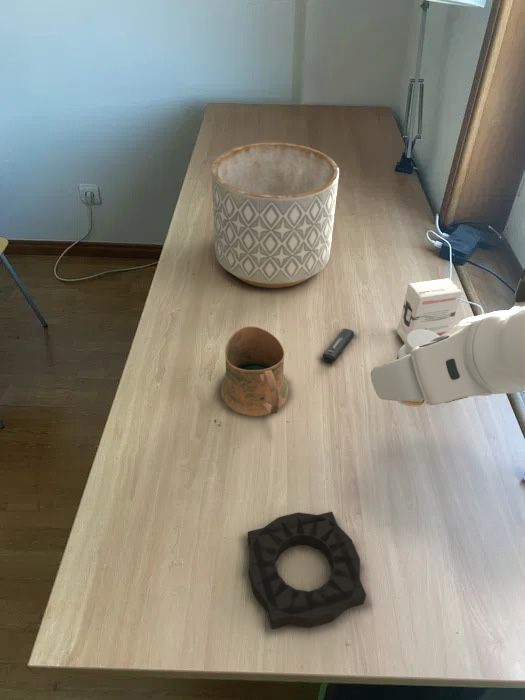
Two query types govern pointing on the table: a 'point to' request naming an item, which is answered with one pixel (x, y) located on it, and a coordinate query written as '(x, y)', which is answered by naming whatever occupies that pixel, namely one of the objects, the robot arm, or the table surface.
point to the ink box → (429, 307)
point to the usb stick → (338, 345)
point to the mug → (254, 373)
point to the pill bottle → (411, 342)
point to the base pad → (299, 604)
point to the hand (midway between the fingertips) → (414, 363)
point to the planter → (273, 212)
